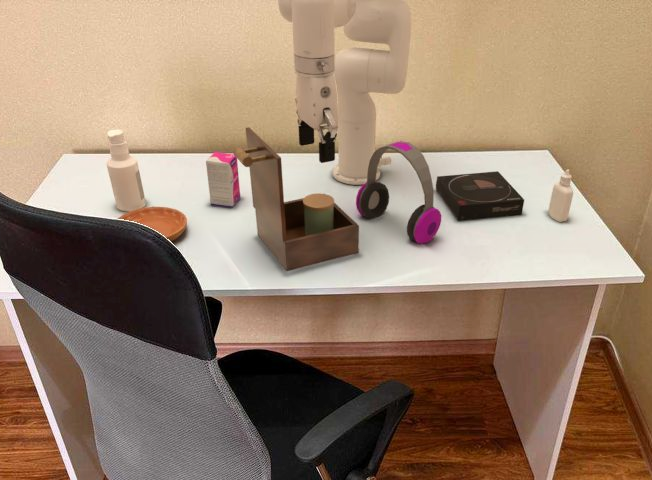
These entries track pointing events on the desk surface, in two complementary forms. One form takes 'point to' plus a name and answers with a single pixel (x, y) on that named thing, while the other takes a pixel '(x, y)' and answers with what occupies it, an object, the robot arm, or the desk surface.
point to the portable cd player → (479, 196)
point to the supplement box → (223, 179)
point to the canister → (318, 213)
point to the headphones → (376, 194)
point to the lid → (265, 181)
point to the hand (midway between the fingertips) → (316, 152)
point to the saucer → (159, 220)
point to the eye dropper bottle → (561, 198)
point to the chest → (309, 238)
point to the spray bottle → (124, 174)
